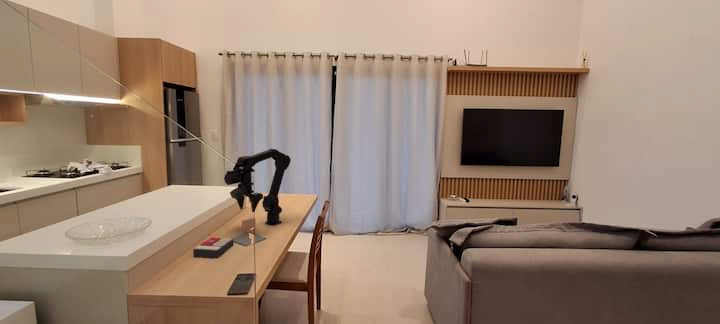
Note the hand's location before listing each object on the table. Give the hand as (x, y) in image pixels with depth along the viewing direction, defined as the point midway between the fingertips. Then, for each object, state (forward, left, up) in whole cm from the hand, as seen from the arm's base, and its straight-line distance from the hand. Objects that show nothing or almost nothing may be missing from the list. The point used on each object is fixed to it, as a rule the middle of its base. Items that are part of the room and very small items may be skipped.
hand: (247, 210), depth 174 cm
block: (-1, 0, -11) cm, 11 cm away
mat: (+8, +10, -11) cm, 17 cm away
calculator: (+25, +8, -12) cm, 29 cm away
